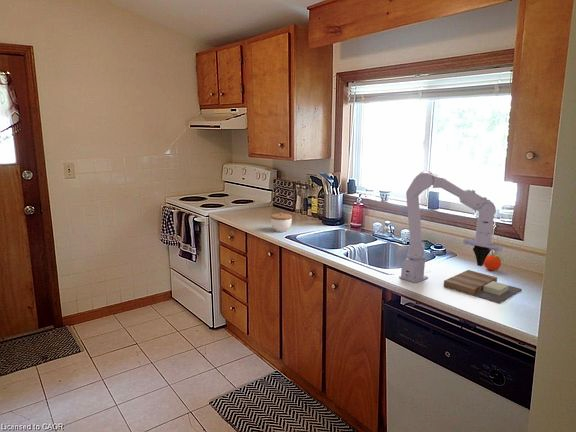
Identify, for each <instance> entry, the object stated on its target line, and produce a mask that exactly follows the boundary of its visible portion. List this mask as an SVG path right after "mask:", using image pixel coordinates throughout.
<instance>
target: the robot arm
mask: <svg viewBox="0 0 576 432" xmlns="http://www.w3.org/2000/svg"><path fill="white" fill-rule="evenodd" d="M431 187H432V189H442V190H444V191H446V192H448V193H449V194H451V195H454V196H456V197H457V198H458V199H459V202H460V203H461V204H463V205H465V206H466V207H467V208H470V209H471V210H473V211H475V212H476V211H477V212H478V217H477V220H476V228H475V238H474V239H471V238H464V239H463V243H462V244H463V245H468V246H469V245H470V246H473V247H472V251H473V253H474V255H475V259H476V266H478V267H483V266H484V261H485V259H486V257H487V256H489V255H490V253H491V251H496V252H497V253H503V249H504V246H502V245H499V244H496V243H492V237H493V229H494V218H495V215H496V213H497V210H496V209H497V208H496V206H495V204H494V202H493V201H491V200H490V199H488V198H487V197H485V196H484V197H483V196H481V195H480V194H478V193H476V191H475V190H474V189H472V190H471V189H462V188H460V187H459V186H457V185H455V184H454V183H452V182H451V181H449V180H448V179H446V178H444V177H442V176H440V175H439V174H435V173H433V172H431V171H429V170H423V171H421V172H420V173H418V174H417V175H416V176H415V177H414V179H413V180H412V181H411V184H410V185H409V186H408V189H407V190H406V193H405V196H406V206H407V217H408V230H409V231H408V232H409V246H408V249H407V255H406V258H405V260H403V261H402V263H401V274H400V276H399V277H398V278H399V279H402V280H405V281H408V282H412V283H414V284H415V283H418V282H421V281H423V280H426V279H428V278H429V276H427V275H425V267H426V265H425V264H426V255H424V254H425V249H426V243H425V242H424V241H425V240H423V233H422V222H421V211H420V201H419V196H420V195H421V194H422V193H423V192H424V191H425V190H427V189H429V188H431Z"/></svg>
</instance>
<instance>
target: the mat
mask: <svg viewBox="0 0 576 432" xmlns="http://www.w3.org/2000/svg"><path fill="white" fill-rule="evenodd" d="M522 290H523V289H522V288H520V287H516V286H513V285H509V289H508V291H506V292H504V293H503V294H501V295H496V294H493V293H489V292H486V291H483V290H481V291H479V292H477V293H475V294H474V295H472V296H474V297H477V298H481V299H483V300H486V301H490V302H493V303H496V304H501V303H503V302H505V301H507V300H509V299H510V298H511V297H513V296H515V295H516V294H518V293H519V292H521V291H522Z"/></svg>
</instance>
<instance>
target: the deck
mask: <svg viewBox="0 0 576 432" xmlns="http://www.w3.org/2000/svg"><path fill="white" fill-rule="evenodd" d="M492 281H495V282H498V277H497V276H493V275H489V274H486V273H482V272H478V271H474V270H471V269H467V270H465V271H463V272H460V273H458V274H456V275H454V276H452V277H449V278H447V279H445V280H443V288H447V289H450V290H453V291H456V292H461V293H463V294H466V295H470V296H473V295H474V294H475V293H477V292H479V291H481V290H483V288H484V285H486V284H488V283H490V282H492Z"/></svg>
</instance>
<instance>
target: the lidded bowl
mask: <svg viewBox="0 0 576 432" xmlns="http://www.w3.org/2000/svg"><path fill="white" fill-rule="evenodd" d="M292 221H293V215H291V214H289V213H283V212H282V211H281V212H280V213H273V214H271V215H270V223H271V227H272V228H273V229H274V231H275V232H278V233H285V232H288V231H289V229H290V228H291V225H292Z"/></svg>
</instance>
